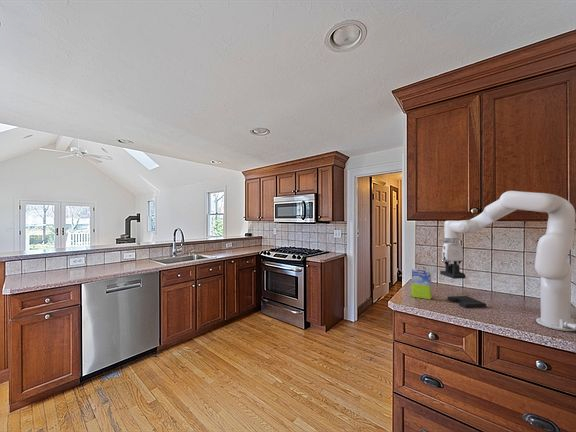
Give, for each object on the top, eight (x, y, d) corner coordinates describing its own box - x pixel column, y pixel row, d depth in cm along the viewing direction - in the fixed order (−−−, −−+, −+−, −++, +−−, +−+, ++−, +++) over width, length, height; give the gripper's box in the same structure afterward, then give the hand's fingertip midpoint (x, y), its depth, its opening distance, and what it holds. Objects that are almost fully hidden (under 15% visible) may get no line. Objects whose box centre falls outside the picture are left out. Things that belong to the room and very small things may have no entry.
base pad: (486, 307, 140) (486, 303, 140) (465, 307, 140) (465, 304, 140) (466, 299, 154) (466, 295, 154) (447, 299, 154) (447, 296, 154)
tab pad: (470, 278, 146) (469, 266, 146) (453, 278, 146) (453, 266, 146) (455, 273, 158) (455, 262, 158) (440, 274, 158) (440, 262, 158)
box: (431, 298, 157) (431, 269, 157) (430, 300, 153) (430, 271, 153) (412, 295, 163) (412, 268, 163) (411, 296, 159) (411, 269, 159)
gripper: (442, 242, 148) (443, 273, 148) (470, 241, 149) (470, 273, 149) (434, 240, 155) (435, 271, 155) (460, 240, 156) (461, 270, 156)
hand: (452, 272), depth 152 cm, fingers closed on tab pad, 3 cm apart
